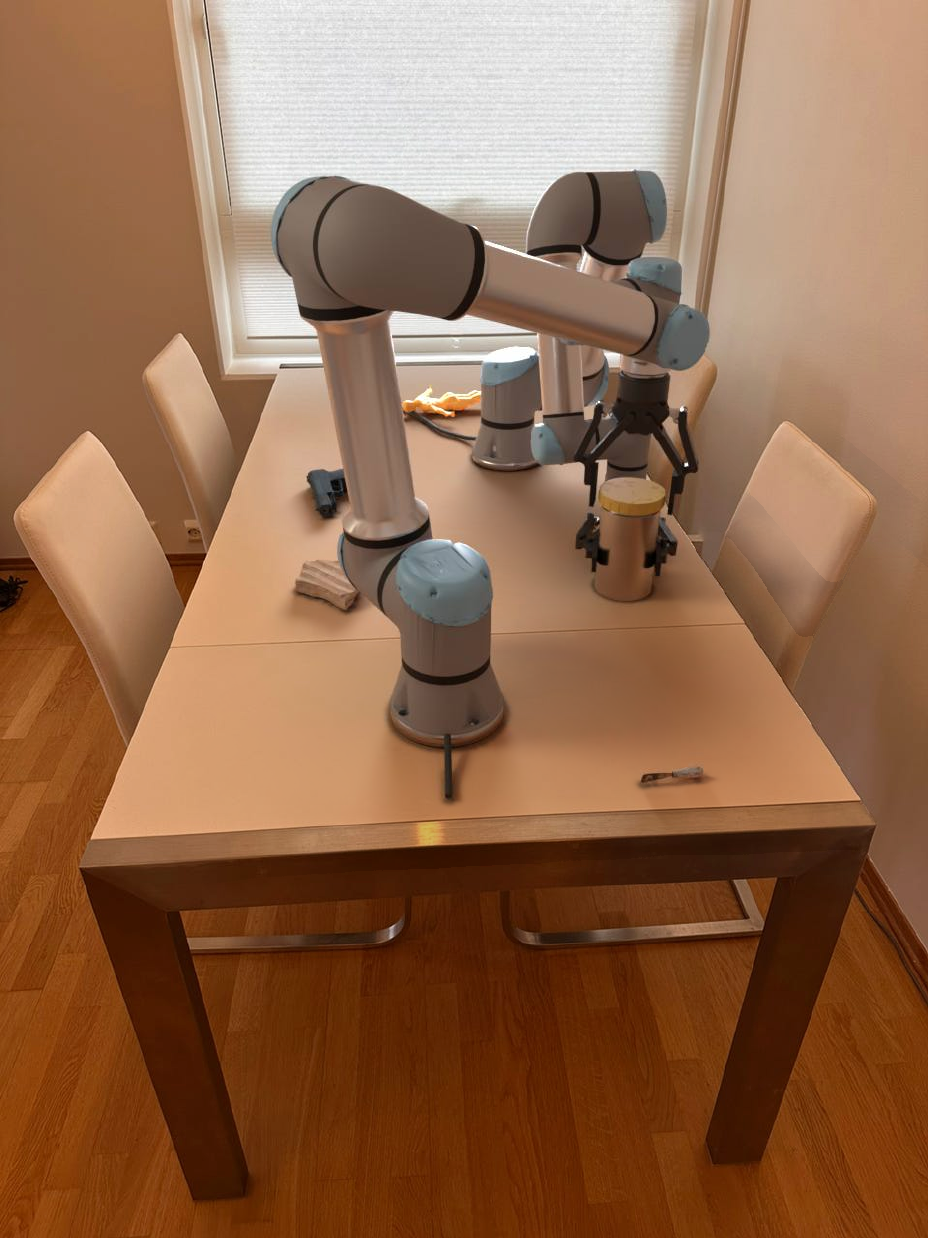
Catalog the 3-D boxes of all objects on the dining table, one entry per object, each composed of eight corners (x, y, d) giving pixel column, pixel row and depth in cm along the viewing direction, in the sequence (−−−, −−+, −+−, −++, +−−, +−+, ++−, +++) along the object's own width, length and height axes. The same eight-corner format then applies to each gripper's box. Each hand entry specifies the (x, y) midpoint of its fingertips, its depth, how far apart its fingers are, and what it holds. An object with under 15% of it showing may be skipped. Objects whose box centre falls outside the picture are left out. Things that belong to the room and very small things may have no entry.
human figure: (395, 413, 223) (394, 398, 221) (438, 390, 237) (438, 375, 235) (462, 429, 215) (462, 413, 213) (502, 404, 229) (503, 388, 227)
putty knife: (703, 777, 109) (705, 767, 109) (642, 788, 108) (644, 777, 107) (700, 772, 110) (702, 762, 109) (639, 782, 109) (640, 771, 108)
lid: (608, 484, 147) (609, 473, 146) (671, 494, 144) (672, 483, 143) (590, 508, 139) (591, 497, 138) (656, 520, 136) (657, 508, 135)
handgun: (377, 512, 175) (316, 519, 172) (362, 476, 189) (305, 483, 186) (376, 497, 173) (315, 504, 171) (361, 462, 187) (303, 469, 185)
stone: (382, 577, 152) (381, 564, 151) (347, 611, 143) (346, 598, 142) (316, 564, 157) (314, 551, 155) (279, 596, 147) (277, 583, 146)
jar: (589, 596, 147) (596, 503, 138) (600, 569, 155) (607, 480, 146) (646, 605, 145) (657, 511, 136) (654, 577, 152) (665, 487, 143)
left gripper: (559, 373, 130) (552, 509, 142) (728, 385, 125) (707, 525, 136) (567, 358, 136) (560, 490, 148) (729, 370, 131) (708, 505, 142)
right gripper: (685, 530, 162) (693, 592, 143) (563, 523, 165) (555, 582, 146) (690, 492, 158) (699, 550, 139) (565, 485, 161) (558, 541, 142)
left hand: (630, 507), depth 142 cm, fingers open, 12 cm apart
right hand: (626, 566), depth 143 cm, fingers closed on jar, 9 cm apart
